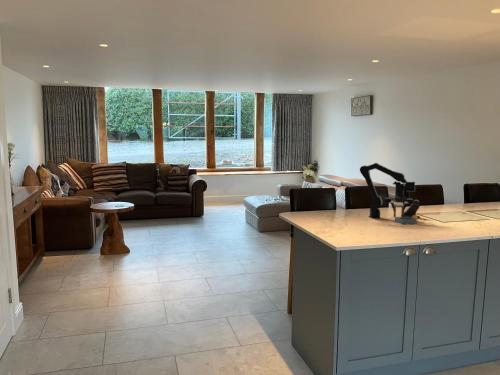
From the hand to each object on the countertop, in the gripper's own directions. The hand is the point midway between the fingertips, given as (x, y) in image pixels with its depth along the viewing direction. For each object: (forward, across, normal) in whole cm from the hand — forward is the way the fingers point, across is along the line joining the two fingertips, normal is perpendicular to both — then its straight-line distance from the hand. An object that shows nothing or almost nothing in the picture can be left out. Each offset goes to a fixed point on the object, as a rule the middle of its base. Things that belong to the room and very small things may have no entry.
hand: (398, 212), depth 297 cm
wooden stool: (+3, 0, 0) cm, 3 cm away
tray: (+5, +4, -12) cm, 14 cm away
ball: (+3, +11, -3) cm, 11 cm away
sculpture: (+5, +8, +12) cm, 15 cm away
